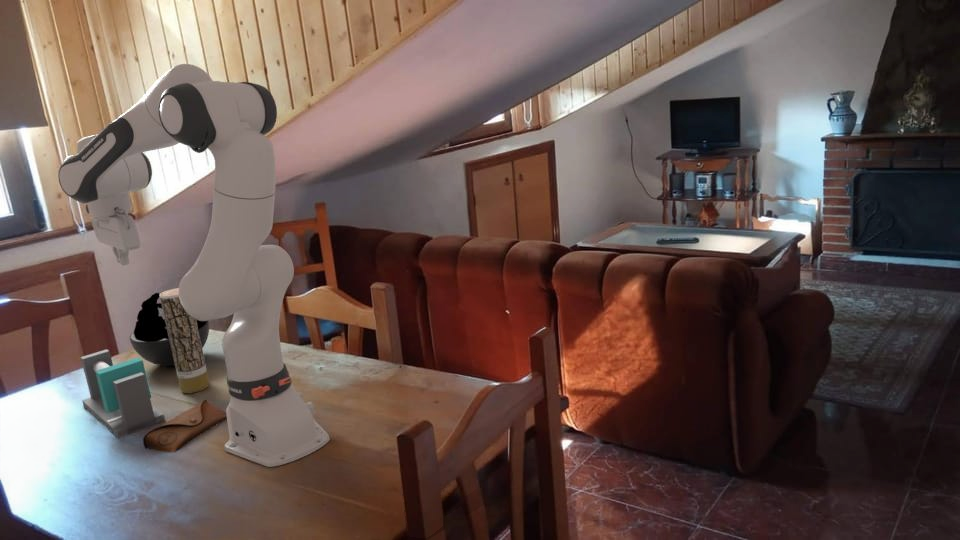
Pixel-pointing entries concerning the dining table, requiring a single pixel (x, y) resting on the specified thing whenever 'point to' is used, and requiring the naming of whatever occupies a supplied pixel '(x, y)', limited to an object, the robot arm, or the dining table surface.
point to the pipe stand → (120, 398)
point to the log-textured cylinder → (184, 344)
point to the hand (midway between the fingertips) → (123, 264)
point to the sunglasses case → (184, 428)
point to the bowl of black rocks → (157, 334)
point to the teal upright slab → (116, 373)
